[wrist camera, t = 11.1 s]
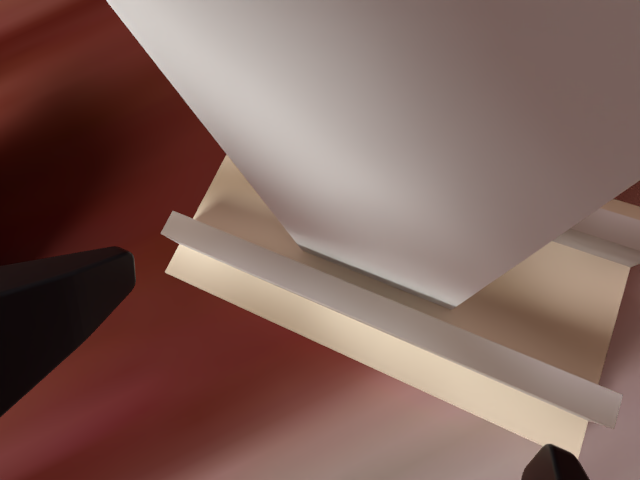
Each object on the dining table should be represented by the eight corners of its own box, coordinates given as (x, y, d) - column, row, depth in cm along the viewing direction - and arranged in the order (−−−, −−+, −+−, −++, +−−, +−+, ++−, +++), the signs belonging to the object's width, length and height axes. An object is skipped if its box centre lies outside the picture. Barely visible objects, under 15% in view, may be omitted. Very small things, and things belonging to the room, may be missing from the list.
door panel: (451, 309, 14) (875, 18, 2) (302, 250, 16) (6, -127, 3) (478, 235, 15) (934, -353, 3) (332, 184, 16) (170, -341, 4)
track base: (557, 450, 14) (602, 475, 11) (182, 279, 18) (143, 264, 15) (622, 222, 16) (675, 192, 13) (268, 112, 20) (248, 70, 17)
